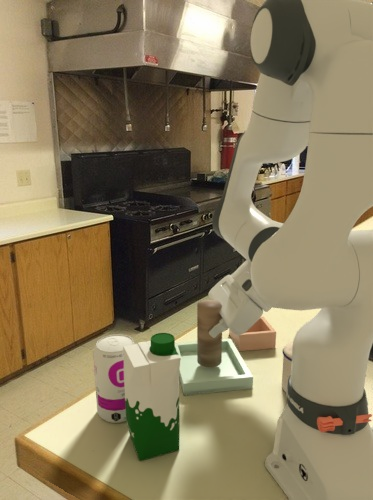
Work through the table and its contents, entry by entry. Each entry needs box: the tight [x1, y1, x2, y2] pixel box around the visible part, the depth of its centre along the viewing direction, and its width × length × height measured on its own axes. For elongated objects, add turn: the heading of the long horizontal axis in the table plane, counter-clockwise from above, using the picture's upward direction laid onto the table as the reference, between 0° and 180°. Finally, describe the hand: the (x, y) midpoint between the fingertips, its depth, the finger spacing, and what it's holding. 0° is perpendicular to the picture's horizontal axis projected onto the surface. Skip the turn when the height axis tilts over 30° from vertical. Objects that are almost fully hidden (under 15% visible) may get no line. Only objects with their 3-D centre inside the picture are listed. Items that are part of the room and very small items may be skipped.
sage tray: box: [175, 338, 254, 396], centre depth 98 cm, size 18×15×3 cm
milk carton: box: [123, 332, 181, 462], centre depth 73 cm, size 9×9×20 cm
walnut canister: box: [196, 299, 223, 367], centre depth 96 cm, size 6×6×14 cm
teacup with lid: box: [281, 341, 293, 393], centre depth 91 cm, size 12×9×12 cm
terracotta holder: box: [228, 316, 277, 352], centre depth 112 cm, size 10×10×4 cm
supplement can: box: [92, 333, 136, 424], centre depth 82 cm, size 8×8×15 cm
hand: (207, 327), depth 96 cm, fingers closed on walnut canister, 6 cm apart
